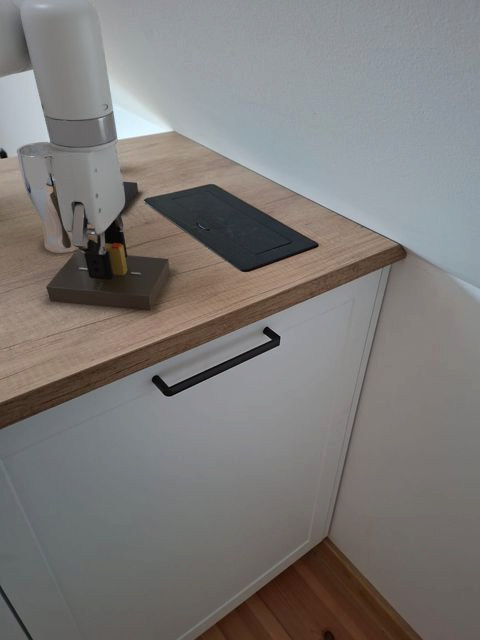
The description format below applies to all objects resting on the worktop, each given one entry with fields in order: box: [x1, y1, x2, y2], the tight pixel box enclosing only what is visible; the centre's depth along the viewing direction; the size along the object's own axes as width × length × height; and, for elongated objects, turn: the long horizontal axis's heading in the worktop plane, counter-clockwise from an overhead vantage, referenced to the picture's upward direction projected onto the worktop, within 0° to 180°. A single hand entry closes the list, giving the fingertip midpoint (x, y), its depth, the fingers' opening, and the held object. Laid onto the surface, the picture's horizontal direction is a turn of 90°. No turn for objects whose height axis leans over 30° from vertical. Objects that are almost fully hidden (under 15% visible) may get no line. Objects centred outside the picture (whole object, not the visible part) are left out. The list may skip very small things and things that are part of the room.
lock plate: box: [45, 250, 171, 312], centre depth 69 cm, size 14×10×3 cm
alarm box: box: [122, 181, 139, 214], centre depth 91 cm, size 12×10×4 cm
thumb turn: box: [105, 243, 127, 275], centre depth 67 cm, size 5×1×4 cm, turn 83°
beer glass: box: [16, 141, 80, 254], centre depth 74 cm, size 7×7×15 cm
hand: (109, 266), depth 68 cm, fingers open, 4 cm apart
